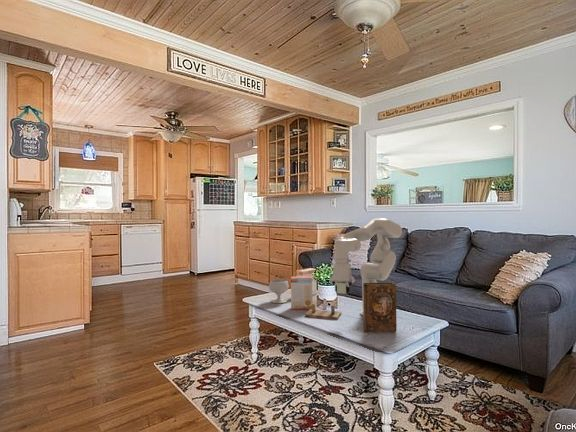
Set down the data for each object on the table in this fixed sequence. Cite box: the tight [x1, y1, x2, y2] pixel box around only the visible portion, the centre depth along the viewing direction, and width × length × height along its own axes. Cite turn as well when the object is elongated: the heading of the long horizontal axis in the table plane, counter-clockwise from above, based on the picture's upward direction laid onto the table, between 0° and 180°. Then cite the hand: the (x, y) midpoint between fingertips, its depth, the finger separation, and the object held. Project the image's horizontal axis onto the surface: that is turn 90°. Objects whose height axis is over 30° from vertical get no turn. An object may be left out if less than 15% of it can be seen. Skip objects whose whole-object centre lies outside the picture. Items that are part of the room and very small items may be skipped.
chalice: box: [268, 278, 290, 304], centre depth 249 cm, size 14×14×15 cm
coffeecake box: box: [295, 267, 318, 296], centre depth 268 cm, size 15×7×20 cm, turn 130°
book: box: [363, 282, 398, 334], centre depth 185 cm, size 16×6×25 cm, turn 92°
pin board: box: [304, 303, 342, 321], centre depth 214 cm, size 20×12×6 cm, turn 70°
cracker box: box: [290, 275, 314, 311], centre depth 230 cm, size 14×6×21 cm, turn 84°
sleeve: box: [336, 281, 348, 297], centre depth 199 cm, size 5×5×7 cm
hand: (342, 292), depth 199 cm, fingers closed on sleeve, 5 cm apart
